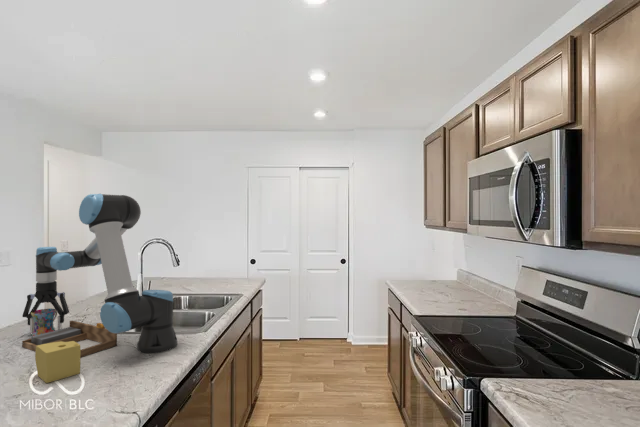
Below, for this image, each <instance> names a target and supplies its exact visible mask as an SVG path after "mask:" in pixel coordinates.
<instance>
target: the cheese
mask: <svg viewBox="0 0 640 427" xmlns="http://www.w3.org/2000/svg"><path fill="white" fill-rule="evenodd" d="M81 350H82V348H81V344H80V343H78V342H75V341H70V342H62V341H60V342H53V343H47V344H41V345H38V346H36V351H34V352H35V353H34V357H35V366H36V371H37V376H38V377H39V378H40V379H41V380H42V381H43V382H44V383H45V384H48V383H52V382H54V381H56V382H57V381H59V380H63V379H66V378H68V377H72V376H76V375H79V374H81V357H80V355H81Z"/></svg>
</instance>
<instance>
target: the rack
mask: <svg viewBox="0 0 640 427" xmlns="http://www.w3.org/2000/svg"><path fill="white" fill-rule="evenodd" d="M84 340H89V341H93V342H96V343H97V342H98V343H97V344H95V345H92V346H89V347H85V348H83V349H82V348H81V355H80V358H83V357H86V356H89V355H92V354H95V353H99V352H102V351H105V350H107V349H111V348H113V347H117V346H118V333H111V332H109V331H108V330H107V329H106V328H105V327H104V325H103V324H102V322H97V323H96V325H93V324H89V323H85V322H80V321H77V320H69V326H67V327H64V328H62V329H60V330H58V329H55V331H52V332H48V333H44V334H40V335H36V336H32V335H31V336H30V338H28V339H24V340H22V341H21V342H22V343H21V344H22V346H21V347H22V348H24V349H26V350H27V349H28V350H29V351H34V352H36V346H38V345H41V344H47V343H53V342H60V341H62V342H70V341H75V342H77V343H78V342H81V341H82V342H83V341H84Z"/></svg>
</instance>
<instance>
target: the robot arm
mask: <svg viewBox="0 0 640 427" xmlns="http://www.w3.org/2000/svg"><path fill="white" fill-rule="evenodd" d="M141 211H142V210H141V206H140V205H139V203H138V201H137V200H136V199H134V198H133V197H131V196H129V195H126V194H125V195H124V194H123V195H122V194H120V195H119V194H106V193H105V194H102V193H90V194H88V195H86V196H85V197H84V198H82V200H81V203H80V205H79V209H78V217H79V221H80V222H81V223H82V224H84V225H88V228H89V231H90V233H93V234H95V237H94V239H93V240H92V241H91V242H90V243H89V244H88V245H87V246H86V247H85V249H84V250H76V251H75V250H74V251H65V252H64V251H61V252H59V251H58V250H57V247H56V246H40V247H37V248H36V251H35V252H36V254H35V282H36V283H35V293H29V294H28V295H27V296H26V298H27V300H26V302H25V303H26V304H25V306H24V309H23V314H22V318H27V326H29V333H30V334H32V333H33V331H34V320H33V317H32V315H31V312H33V313H34V312H35V311H36V310H39V307H40V306H41V304H43V303H50V304H51V305H52V306H53V309H56V311H57V330H60V329H63V323H64V322H65V315H67V314H69V313H70V310H69V307H68V303H67V301H66V293H65V292H64V291H62V292H58V291H57V289H58V288H57V286H58V284H57V283H58V282H57V281H56V280H57V279H58V274H57V273H58V271H60V272H61V271H67V270H71V269H76V268H77V269H78V268H85V267H87V268H88V267H95V266H99V265H101V268H102V271H103V276H104V282H105V286H106V290H107V295H106V297H105V298H104V304H103V305H101V307H100V312H99V316H100V321H101V323H102V324H103V325H104V327H105V328H106V329H107V330H108V331H109V332H111V333H117V334H121V333H126V332H129V331H131V330H135V329H138V328H141V330H140V334H139V337H138V341H137V342H136V343H137V344H136V350H137V351H138V352H140V354H141V353H143V354H159V353H163V352H164V353H165V352H167V351H170V350H173V349H175V348H177V346H178V337H177V334H176V331H175V329H174V297H173V296H174V294H173V292H171V291H170V290H165V289H145V290H142V292H141V295H140V291H139V290H138V289H136V288H135V287H134V285H133V280H132V276H131V272H130V268H129V262H128V258H127V254H126V250H125V246H124V241H123V237H122V235H123V234H124V233H125V232H127V230H130V229H133V227H134V226H136V225H137V223H138V221H139V220H140V217H141V214H142V212H141ZM57 296H58V298H59V301H60V304H61V306H60V305H59V302H58V300H57V298H56V297H57ZM34 299H37V300H36V302H35V304H34V305H33V307H32V309H31V306H32V303H33V301H34ZM30 309H31V310H30Z"/></svg>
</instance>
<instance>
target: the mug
mask: <svg viewBox="0 0 640 427" xmlns="http://www.w3.org/2000/svg"><path fill="white" fill-rule="evenodd" d="M30 312H31V311H30ZM31 315H32V317H33V320H34V331H33V333H31V337H32V336H36V335H40V334H44V333H48V332H52V331H56V329H55V327H54V322H55V319H56V318H57V317H58V312H57V311H56V309H55V308H42V309H37V310H36V311H35V312H34V313H33V312H31Z"/></svg>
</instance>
